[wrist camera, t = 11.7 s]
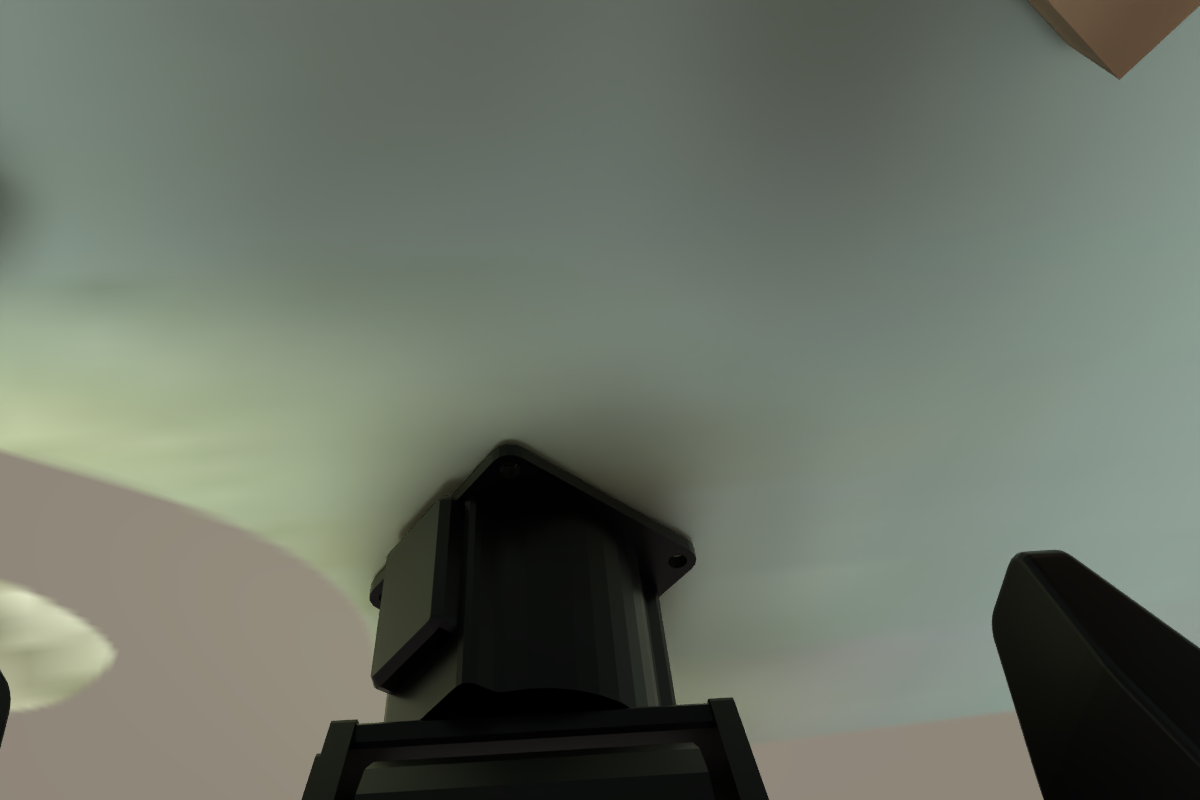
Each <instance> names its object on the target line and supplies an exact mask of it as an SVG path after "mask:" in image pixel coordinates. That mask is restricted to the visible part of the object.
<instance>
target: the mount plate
mask: <svg viewBox="0 0 1200 800" xmlns="http://www.w3.org/2000/svg"><path fill="white" fill-rule="evenodd" d="M1028 1H1029V3H1030V4H1031V5H1032V6H1033V7H1034V8H1035V9H1036V10H1037V11H1038V12H1039V13H1040V15H1041V16H1042V17H1043V18H1044V19H1045V20H1046V21H1047V22H1048V23H1049V24H1050V25H1051V26H1052V28H1053V29H1054V30H1055V31H1056V32H1057V33H1058V34H1059V35H1060V36H1061V37H1062V38H1063V40H1064V41H1065V42H1066V43H1067V44H1068V45H1069V46H1071V47H1072V48H1074V49H1075V50H1077V51H1078V52H1079V53H1081V54H1082V55H1084V56H1085V57H1087V58H1088V59H1090V60H1091V61H1093V62H1094V63H1096V64H1097V65H1099V66H1100V67H1102V68H1103V69H1105V70H1106V71H1107V72H1109V73H1110V74H1112V75H1113V76H1115V77H1116V78H1118V79H1119V80H1120V79H1121V78H1122V77H1123V76H1124V75H1125V74H1126V73H1127V72H1128V71H1129V70H1130V69H1131V68H1133V67H1134V66H1135V65H1136V64H1137V63H1138V62H1139V61H1140V60H1141V59H1142V58H1143V57H1144V56H1146V55H1147V54H1148V53H1149V52H1150V51H1151V50H1152V49H1153V48H1154V47H1155V46H1156V45H1157V44H1159V43H1160V42H1161V41H1162V40H1163V39H1164V38H1165V37H1166V36H1167V35H1168V34H1169V33H1170V32H1171V31H1173V30H1174V29H1175V28H1176V27H1177V26H1178V25H1179V24H1180V23H1181V22H1182V21H1183V20H1184V19H1186V18H1187V17H1188V16H1189V15H1190V14H1191V13H1192V12H1193V11H1194V10H1195V9H1196V8H1197V7H1199V6H1200V0H1028Z"/></svg>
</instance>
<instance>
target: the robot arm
mask: <svg viewBox="0 0 1200 800" xmlns="http://www.w3.org/2000/svg"><path fill="white" fill-rule="evenodd" d="M505 463H515V464H517V466H515V467H513V468H507V467H504V466H503V464H505ZM679 554H680V555H681V556H679V557H672V556H674V555H679ZM695 562H696V555H695V551H694V547H693V544H692V543H691V542H690V541H689V540H688V539H686V538H684V537H682V536H681V535H679V534H677V533H675V532H673V531H672V530H670V529H668V528H666V527H664V526H663V525H661V524H659V523H657V522H655V521H654V520H652V519H650V518H648V517H646V516H645V515H643V514H641V513H639V512H637V511H636V510H634V509H632V508H630V507H628V506H627V505H625V504H623V503H621V502H619V501H618V500H616V499H614V498H612V497H610V496H609V495H607V494H605V493H603V492H601V491H600V490H598V489H596V488H594V487H593V486H591V485H589V484H587V483H585V482H584V481H582V480H580V479H578V478H576V477H575V476H573V475H571V474H569V473H567V472H566V471H564V470H562V469H560V468H558V467H557V466H555V465H553V464H551V463H549V462H548V461H546V460H544V459H542V458H540V457H539V456H537V455H535V454H533V453H531V452H530V451H528V450H526V449H524V448H522V447H520V446H517V445H508V444H506V445H503V446H500V447H498V448H497V449H495V450H494V451H493V452H492V453H491V454H490V455H489V456H488V457H487V458H486V459H485V460H484V461H483V462H482V464H481V465H480V466H479V467H478V468H477V469H476V470H475V471H474V472H473V473H472V474H471V475H470V476H469V478H468V479H467V480H466V481H465V482H464V483H463V484H462V485H461V486H460V487H459V488H458V489H457V490H456V492H455V493H454V494H453V495H452V496H446V497H444V498H441V499H439V500H438V501H437V502H436V503H435V504H434V505H433V506H432V507H431V508H430V509H429V510H428V511H427V513H426V514H425V515H424V516H423V517H422V518H421V519H420V520H419V521H418V522H417V523H416V525H415V526H414V527H413V528H412V529H411V530H410V531H409V532H408V533H407V534H406V535H405V536H404V538H403V539H402V540H401V541H400V542H399V543H398V544H397V545H396V546H395V547H394V548H393V550H392V551H391V552H390V553H389V554H388V556H387V561H386V567H385V568H384V569H383V570H382V571H381V573H380V574H379V575H378V576H377V577H376V578H375V579H374V580H373V582H372V584H371V589H370V602H371V603H372V604H373V606H375V607H377V608H378V609H380V612H379V620H378V627H377V634H376V642H375V649H374V656H373V664H372V671H371V678H372V681H373V685H374V687H375V688H376V689H378V690H381V691H383V692H386V693H387V700H386V708H385V717H384V722H382V723H381V722H380V723H364V724H359V722H358V720H342V721H341V720H340V721H331V723H330V727H329V730H328V733H327V736H326V739H325V742H324V745H323V749H322V752H321V754H317V755H316V757H315V759H314V763H313V766H312V769H311V772H310V775H309V778H308V781H307V784H306V788H305V791H304V794H303V797H302V800H769V798H768V796H767V793H766V790H765V787H764V784H763V781H762V779H761V776H760V773H759V770H758V767H757V765H756V761H755V759H754V756H753V753H752V750H751V747H750V744H749V742H748V739H747V736H746V733H745V730H744V727H743V725H742V722H741V719H740V716H739V713H738V710H737V708H736V705H735V702H734V699H733V698H716V699H708V702H707V703H703V704H686V705H676V702H675V696H674V689H673V683H672V677H671V671H670V664H669V658H668V652H667V646H666V640H665V633H664V627H663V621H662V615H661V609H660V602H659V596H660V595H662V594H663V593H664V592H665V591H666V590H667V589H669V588H670V587H671V586H672V585H673V584H674V583H676V582H677V581H678V580H679V579H680V578H681V577H683V576H684V575H685V574H686V573H687V572H688V571H689V570H691V569H692V567H693V566H694V565H695ZM992 631H993V637H994V641H995V644H996V647H997V651H998V654H999V657H1000V661H1001V664H1002V667H1003V670H1004V674H1005V677H1006V680H1007V683H1008V687H1009V690H1010V693H1011V697H1012V700H1013V703H1014V706H1015V710H1016V713H1017V716H1018V719H1019V723H1020V726H1021V729H1022V732H1023V736H1024V739H1025V742H1026V746H1027V749H1028V752H1029V755H1030V759H1031V762H1032V765H1033V768H1034V772H1035V775H1036V778H1037V781H1038V784H1039V787H1040V790H1041V793H1042V796H1043V798H1044V800H1200V648H1199V647H1198V646H1196V645H1195V644H1193V643H1192V642H1191V641H1189V640H1188V639H1187V638H1185V637H1184V636H1182V635H1181V634H1180V633H1178V632H1177V631H1175V630H1174V629H1173V628H1171V627H1170V626H1169V625H1167V624H1166V623H1164V622H1163V621H1162V620H1160V619H1159V618H1157V617H1156V616H1155V615H1153V614H1152V613H1150V612H1149V611H1148V610H1146V609H1145V608H1144V607H1142V606H1141V605H1139V604H1138V603H1137V602H1135V601H1134V600H1132V599H1131V598H1130V597H1128V596H1127V595H1125V594H1124V593H1123V592H1121V591H1120V590H1119V589H1117V588H1116V587H1114V586H1113V585H1112V584H1110V583H1109V582H1107V581H1106V580H1105V579H1103V578H1102V577H1100V576H1099V575H1098V574H1096V573H1095V572H1094V571H1092V570H1091V569H1089V568H1088V567H1087V566H1085V565H1084V564H1082V563H1081V562H1080V561H1078V560H1077V559H1076V558H1074V557H1073V556H1071V555H1069V554H1068V553H1066V552H1063V551H1060V550H1043V551H1028V552H1021V553H1017V554H1016V555H1015V556H1014V557H1013V558H1012V559H1011V561H1010V563H1009V565H1008V568H1007V571H1006V574H1005V577H1004V580H1003V583H1002V586H1001V589H1000V592H999V595H998V598H997V601H996V604H995V607H994V611H993V615H992ZM10 700H11V699H10V690H9V686H8V683H7V681H6V679H5V677H4V675H3V674H2V672H1V670H0V748H1V744H2V740H3V735H4V731H5V727H6V723H7V719H8V715H9V710H10Z"/></svg>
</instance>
